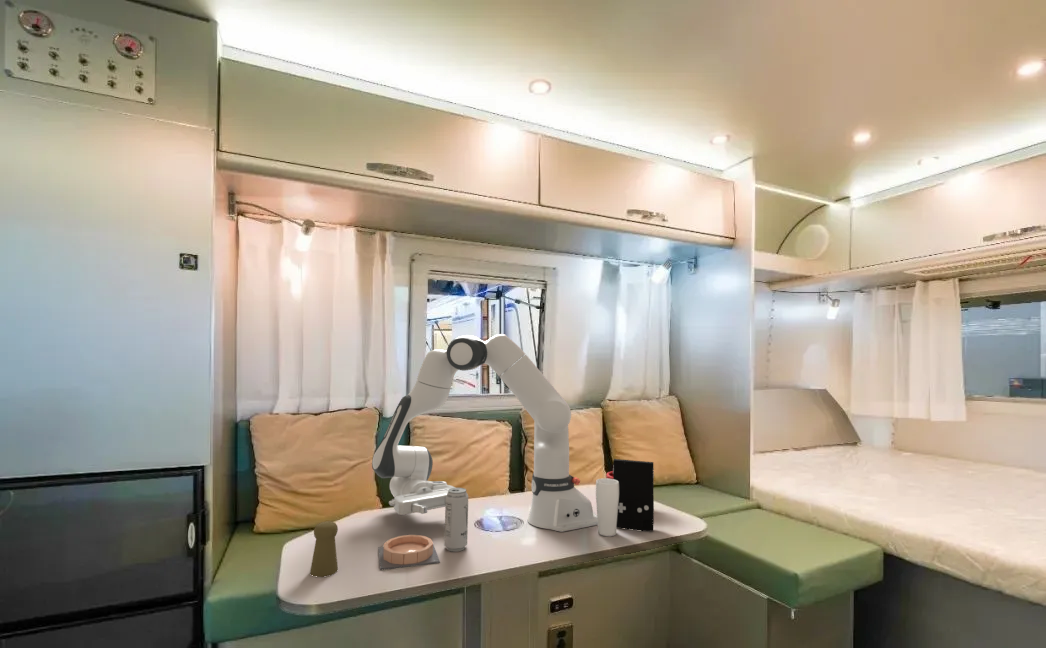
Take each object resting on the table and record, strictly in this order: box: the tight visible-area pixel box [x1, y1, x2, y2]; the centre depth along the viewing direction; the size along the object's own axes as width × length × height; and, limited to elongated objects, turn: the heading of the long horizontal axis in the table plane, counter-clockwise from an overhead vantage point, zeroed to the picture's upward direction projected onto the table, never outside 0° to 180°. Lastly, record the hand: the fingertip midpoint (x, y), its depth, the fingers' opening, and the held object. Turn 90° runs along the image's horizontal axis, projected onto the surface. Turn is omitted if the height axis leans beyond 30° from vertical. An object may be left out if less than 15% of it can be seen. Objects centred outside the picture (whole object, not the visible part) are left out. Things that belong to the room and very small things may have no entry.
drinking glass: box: [595, 477, 619, 537], centre depth 139 cm, size 7×7×15 cm
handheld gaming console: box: [612, 458, 655, 532], centre depth 145 cm, size 12×5×20 cm, turn 72°
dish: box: [377, 534, 441, 571], centre depth 121 cm, size 14×13×3 cm
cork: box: [309, 521, 339, 578], centre depth 112 cm, size 6×6×11 cm
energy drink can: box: [444, 487, 469, 552], centre depth 127 cm, size 6×6×15 cm
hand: (440, 507), depth 135 cm, fingers open, 8 cm apart
